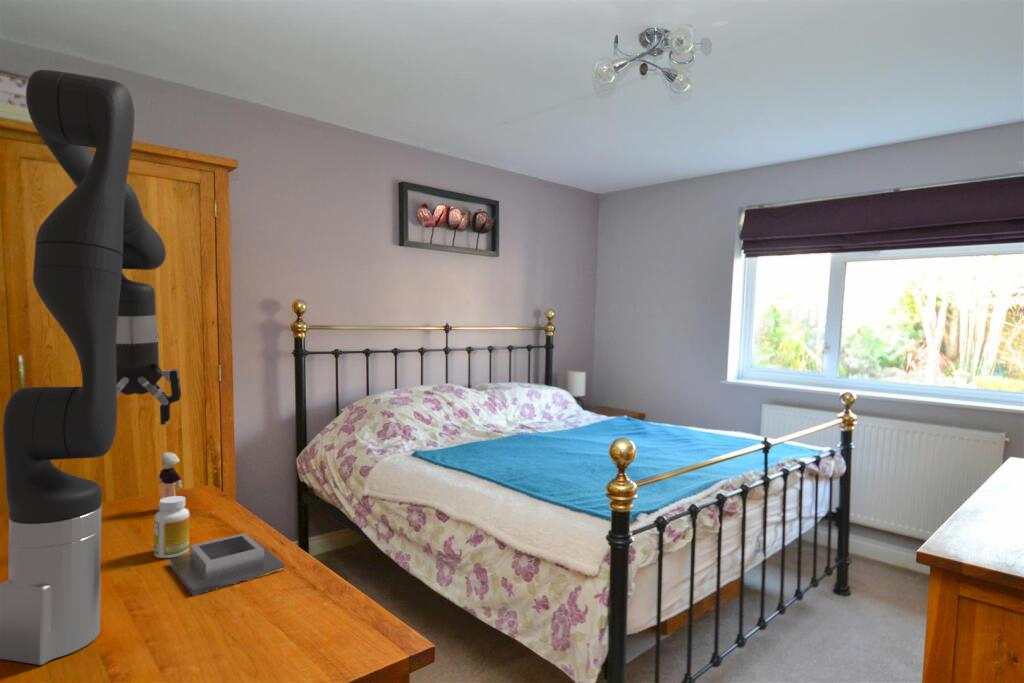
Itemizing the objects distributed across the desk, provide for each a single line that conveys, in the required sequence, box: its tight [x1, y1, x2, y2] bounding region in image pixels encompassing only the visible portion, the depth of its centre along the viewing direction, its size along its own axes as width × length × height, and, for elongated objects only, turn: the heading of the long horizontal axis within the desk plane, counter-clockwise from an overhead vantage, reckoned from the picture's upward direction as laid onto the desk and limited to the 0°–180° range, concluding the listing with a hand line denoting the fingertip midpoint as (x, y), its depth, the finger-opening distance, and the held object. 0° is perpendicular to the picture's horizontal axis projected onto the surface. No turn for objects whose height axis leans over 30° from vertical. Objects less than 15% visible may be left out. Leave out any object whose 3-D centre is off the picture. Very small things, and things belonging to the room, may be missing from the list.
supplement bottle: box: [153, 495, 191, 559], centre depth 100 cm, size 5×5×10 cm
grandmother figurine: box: [155, 451, 183, 512], centre depth 120 cm, size 8×4×13 cm, turn 73°
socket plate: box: [168, 532, 285, 597], centre depth 95 cm, size 14×14×4 cm
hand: (137, 425), depth 105 cm, fingers open, 8 cm apart
